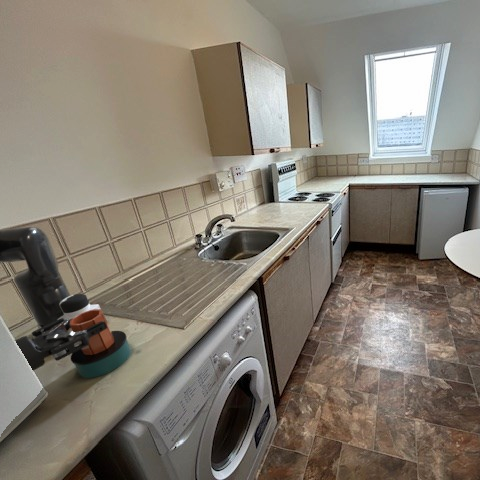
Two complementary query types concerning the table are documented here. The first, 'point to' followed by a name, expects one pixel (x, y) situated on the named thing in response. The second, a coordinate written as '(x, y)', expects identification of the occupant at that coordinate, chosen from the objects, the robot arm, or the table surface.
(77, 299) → the medicine bottle
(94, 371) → the teal tin
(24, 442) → the table surface
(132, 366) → the table surface
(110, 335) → the terracotta cup
